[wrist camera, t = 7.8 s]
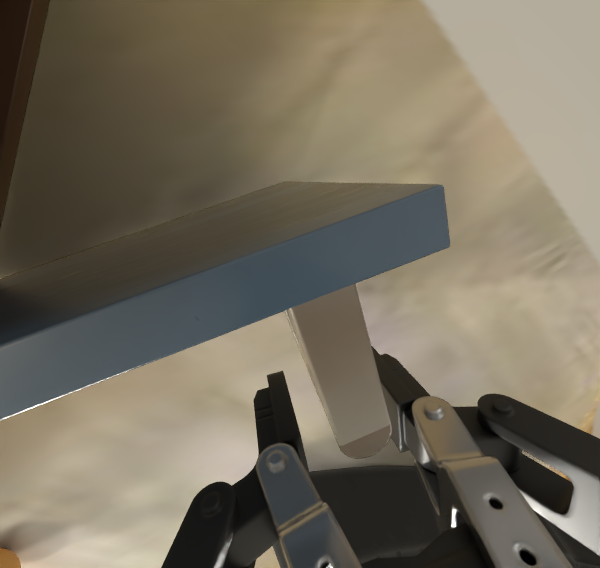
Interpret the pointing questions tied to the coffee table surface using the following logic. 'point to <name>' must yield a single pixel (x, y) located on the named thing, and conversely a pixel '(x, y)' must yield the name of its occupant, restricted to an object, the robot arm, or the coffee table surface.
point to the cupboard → (16, 75)
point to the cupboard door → (225, 294)
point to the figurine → (8, 559)
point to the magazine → (399, 514)
